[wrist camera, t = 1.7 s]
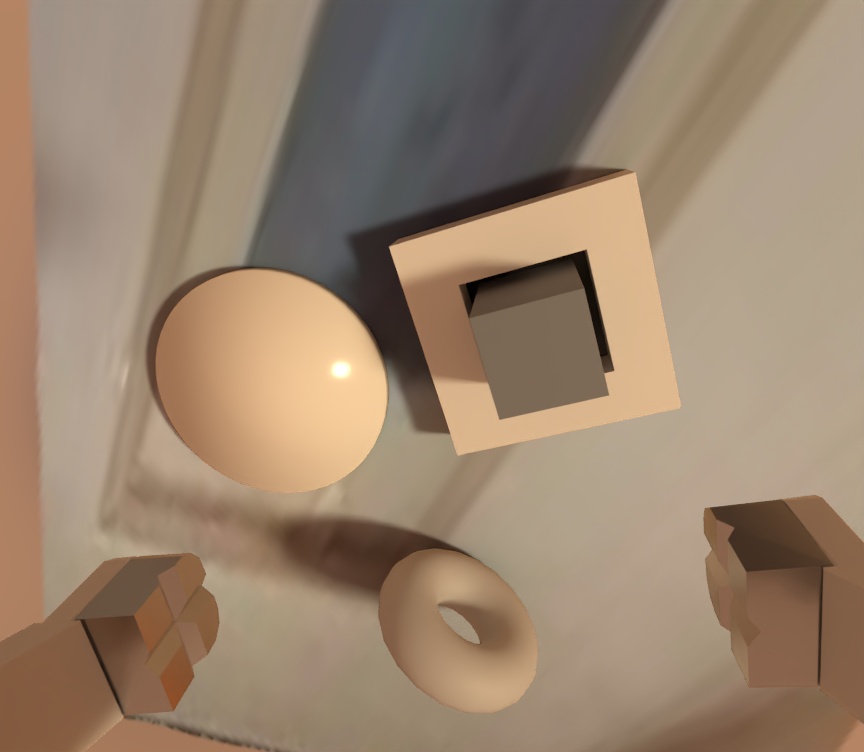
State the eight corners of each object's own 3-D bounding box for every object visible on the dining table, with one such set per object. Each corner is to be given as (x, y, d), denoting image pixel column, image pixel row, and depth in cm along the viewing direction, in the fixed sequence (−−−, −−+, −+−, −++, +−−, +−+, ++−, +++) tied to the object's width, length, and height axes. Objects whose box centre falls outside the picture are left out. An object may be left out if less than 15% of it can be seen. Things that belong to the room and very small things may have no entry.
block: (571, 257, 32) (584, 288, 26) (592, 345, 34) (609, 395, 27) (479, 283, 33) (469, 318, 27) (503, 367, 35) (499, 419, 28)
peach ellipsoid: (340, 236, 33) (335, 239, 32) (419, 459, 38) (416, 468, 37) (125, 304, 36) (115, 308, 36) (221, 502, 41) (213, 511, 40)
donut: (387, 549, 40) (347, 671, 31) (411, 512, 39) (377, 628, 30) (518, 620, 41) (517, 761, 32) (547, 586, 40) (554, 722, 30)
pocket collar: (626, 169, 30) (635, 172, 28) (670, 389, 34) (681, 407, 32) (398, 239, 33) (388, 246, 31) (461, 435, 37) (457, 455, 34)
